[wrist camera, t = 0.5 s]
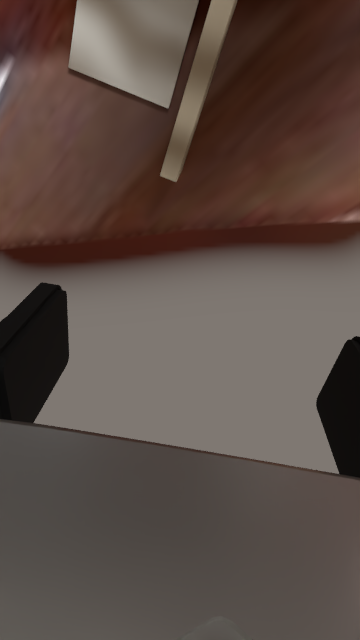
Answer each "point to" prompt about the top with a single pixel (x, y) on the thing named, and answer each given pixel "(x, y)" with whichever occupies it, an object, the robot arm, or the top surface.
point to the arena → (151, 56)
